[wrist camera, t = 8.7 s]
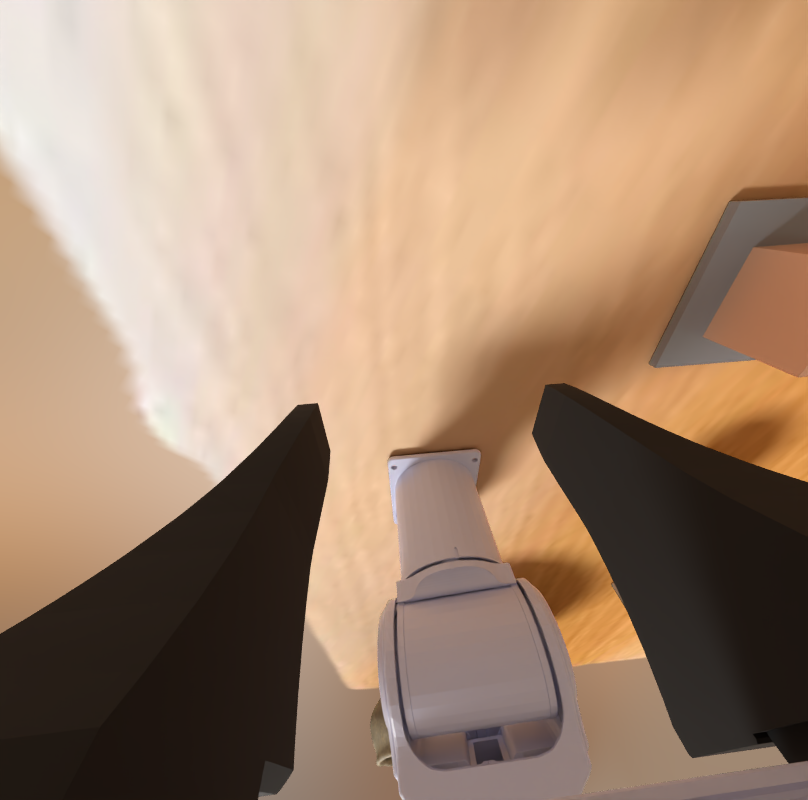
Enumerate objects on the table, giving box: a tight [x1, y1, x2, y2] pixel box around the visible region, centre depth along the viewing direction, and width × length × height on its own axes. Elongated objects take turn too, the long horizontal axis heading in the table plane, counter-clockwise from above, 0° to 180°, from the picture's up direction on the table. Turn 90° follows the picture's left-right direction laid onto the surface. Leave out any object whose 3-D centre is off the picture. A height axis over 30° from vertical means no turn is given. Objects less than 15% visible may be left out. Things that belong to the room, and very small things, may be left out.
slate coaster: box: [649, 197, 808, 368], centre depth 19 cm, size 10×10×1 cm
